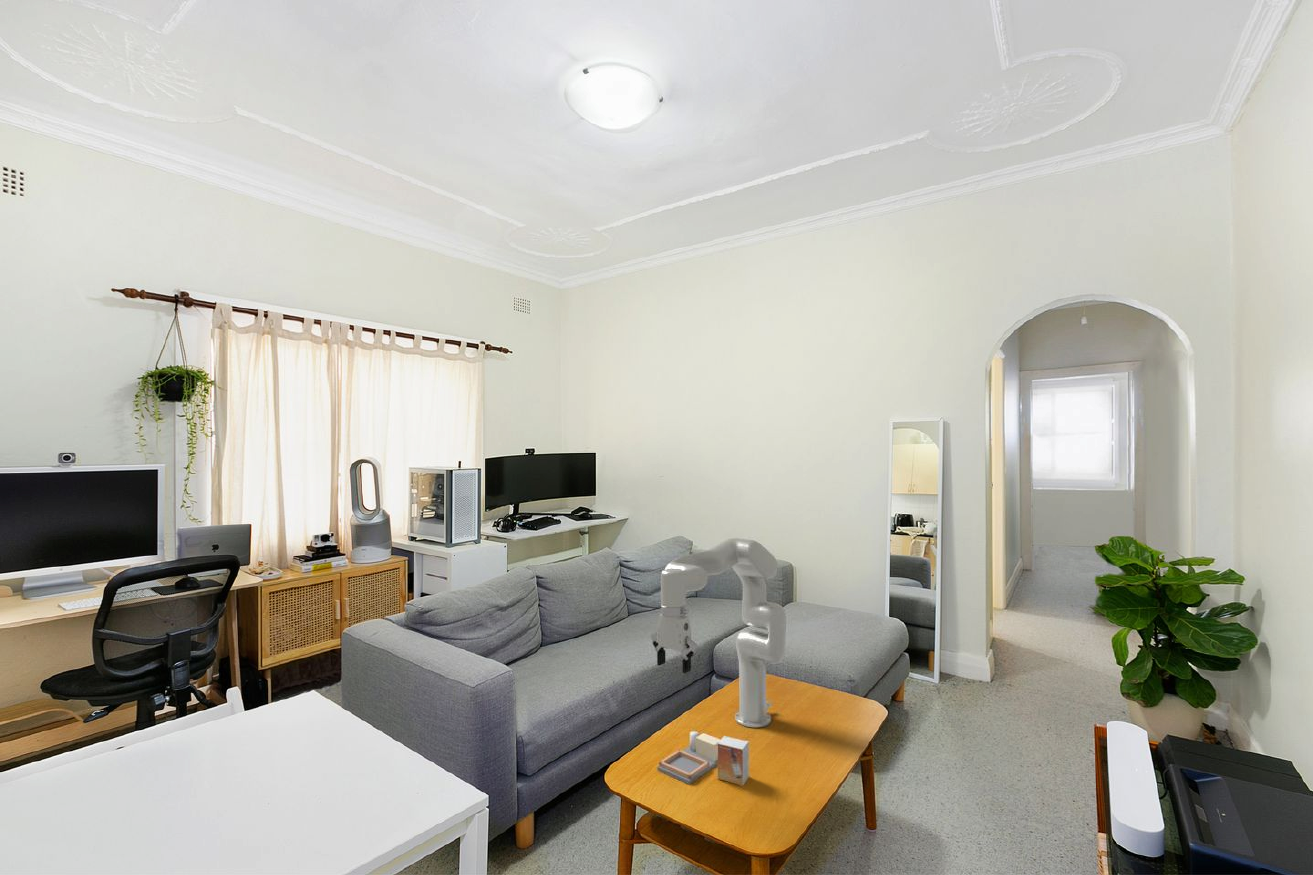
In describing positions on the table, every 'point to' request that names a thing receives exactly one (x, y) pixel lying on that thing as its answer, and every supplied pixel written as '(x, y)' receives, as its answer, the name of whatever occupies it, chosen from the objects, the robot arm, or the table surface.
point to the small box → (733, 760)
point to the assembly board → (692, 758)
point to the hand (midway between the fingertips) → (673, 667)
